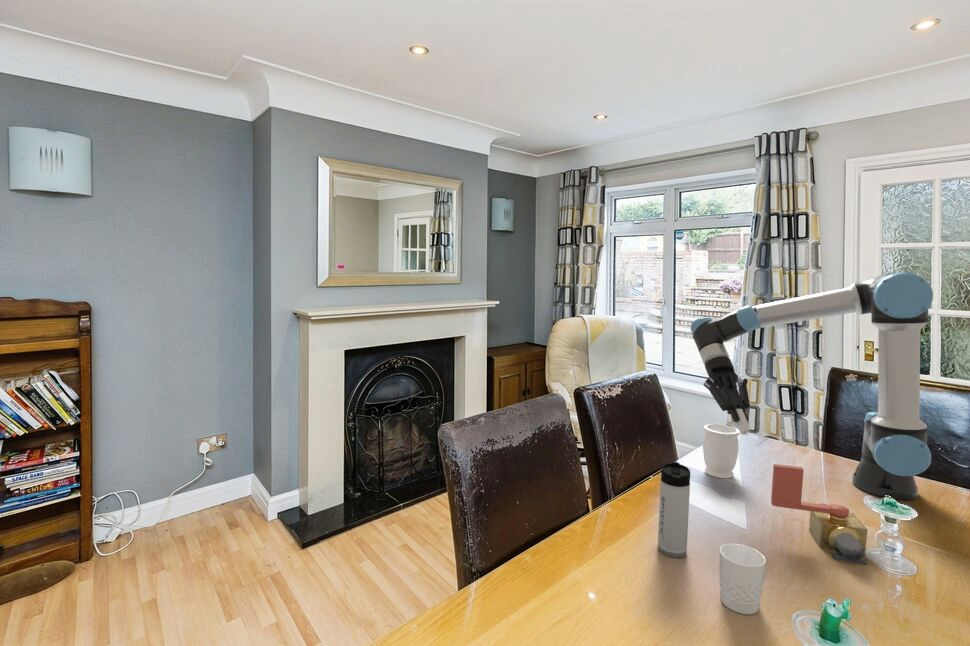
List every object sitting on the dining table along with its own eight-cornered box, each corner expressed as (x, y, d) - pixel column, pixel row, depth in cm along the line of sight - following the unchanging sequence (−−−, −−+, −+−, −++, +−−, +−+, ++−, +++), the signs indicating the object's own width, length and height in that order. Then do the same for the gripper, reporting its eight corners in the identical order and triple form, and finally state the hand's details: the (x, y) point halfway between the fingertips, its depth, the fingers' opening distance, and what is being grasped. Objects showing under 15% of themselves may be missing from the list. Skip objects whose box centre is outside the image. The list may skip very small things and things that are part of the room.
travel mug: (685, 545, 115) (689, 463, 113) (687, 560, 109) (691, 474, 107) (657, 540, 117) (661, 459, 115) (657, 555, 111) (661, 470, 109)
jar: (741, 481, 150) (744, 434, 149) (705, 478, 152) (708, 432, 151) (731, 468, 161) (734, 424, 159) (698, 466, 163) (700, 422, 161)
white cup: (709, 591, 98) (711, 543, 97) (746, 589, 99) (749, 542, 98) (731, 618, 90) (734, 567, 89) (772, 616, 91) (775, 565, 90)
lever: (769, 501, 122) (772, 462, 121) (844, 511, 117) (848, 470, 116) (773, 508, 118) (776, 468, 117) (851, 518, 113) (854, 477, 112)
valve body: (802, 520, 127) (804, 495, 126) (842, 526, 124) (844, 500, 124) (827, 560, 109) (830, 531, 108) (875, 568, 106) (878, 538, 106)
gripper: (731, 368, 153) (761, 437, 138) (691, 368, 152) (717, 438, 137) (742, 354, 147) (775, 425, 132) (701, 354, 146) (729, 426, 131)
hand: (745, 431), depth 135 cm, fingers closed
